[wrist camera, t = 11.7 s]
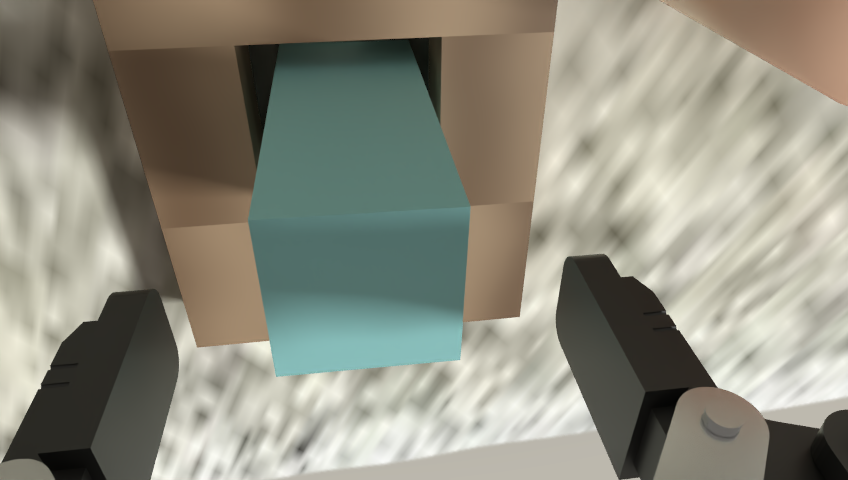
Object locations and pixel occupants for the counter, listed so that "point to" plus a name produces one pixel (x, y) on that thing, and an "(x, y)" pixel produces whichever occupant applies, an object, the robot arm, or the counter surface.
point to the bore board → (242, 132)
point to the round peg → (784, 35)
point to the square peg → (357, 213)
